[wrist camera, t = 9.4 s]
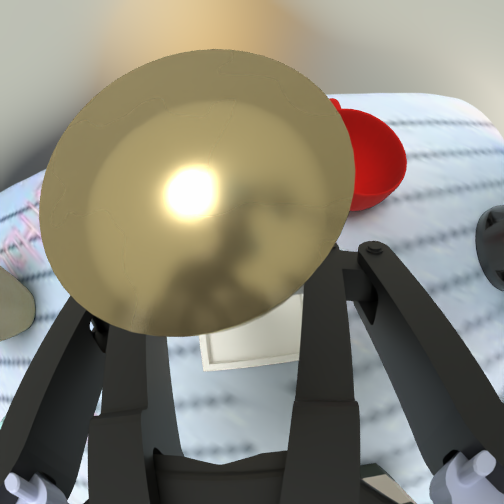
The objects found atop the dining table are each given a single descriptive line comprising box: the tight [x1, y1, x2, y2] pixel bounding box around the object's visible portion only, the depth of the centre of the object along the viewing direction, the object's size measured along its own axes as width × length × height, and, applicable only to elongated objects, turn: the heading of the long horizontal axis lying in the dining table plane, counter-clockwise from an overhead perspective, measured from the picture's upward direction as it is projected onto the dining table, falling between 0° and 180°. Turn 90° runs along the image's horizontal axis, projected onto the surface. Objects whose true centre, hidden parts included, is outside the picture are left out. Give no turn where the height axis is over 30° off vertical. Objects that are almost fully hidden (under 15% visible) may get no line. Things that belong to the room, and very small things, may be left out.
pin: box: [39, 49, 355, 337], centre depth 14 cm, size 6×6×19 cm
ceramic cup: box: [329, 98, 407, 211], centre depth 37 cm, size 13×17×10 cm
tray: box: [199, 294, 303, 372], centre depth 36 cm, size 14×14×3 cm
